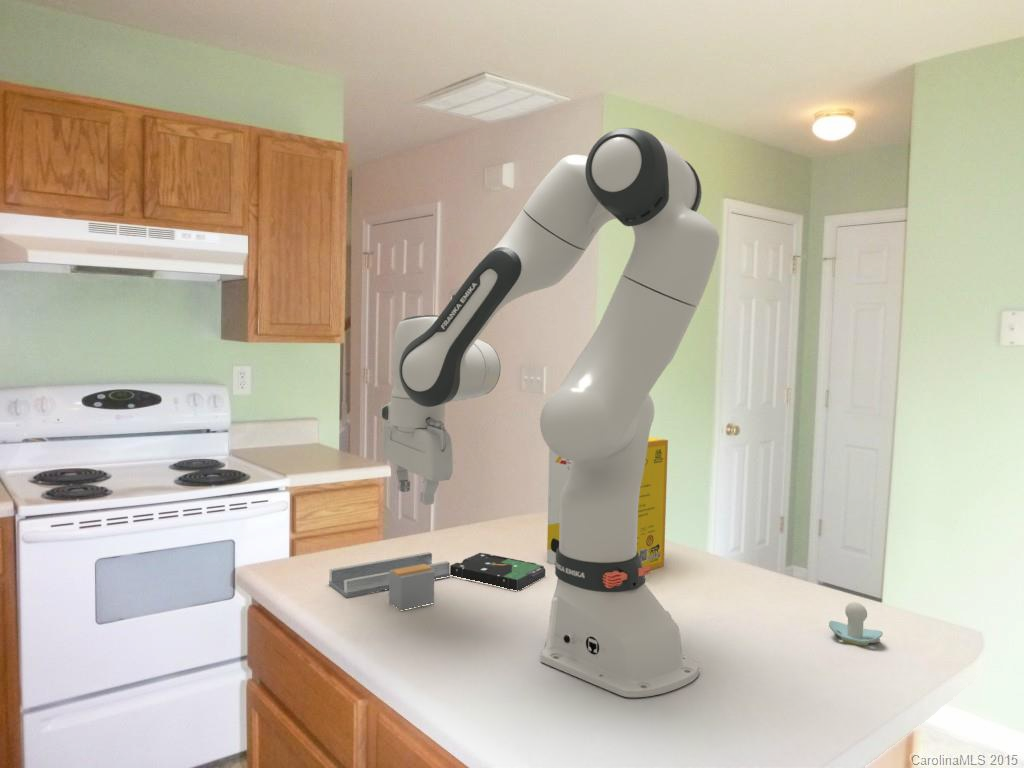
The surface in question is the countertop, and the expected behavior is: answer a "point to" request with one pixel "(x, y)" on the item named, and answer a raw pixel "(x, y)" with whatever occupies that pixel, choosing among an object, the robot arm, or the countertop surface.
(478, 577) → the disk drive
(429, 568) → the module
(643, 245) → the robot arm
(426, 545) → the countertop surface
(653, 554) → the packaging box
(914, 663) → the countertop surface
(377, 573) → the rail
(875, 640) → the pacifier
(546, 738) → the countertop surface
